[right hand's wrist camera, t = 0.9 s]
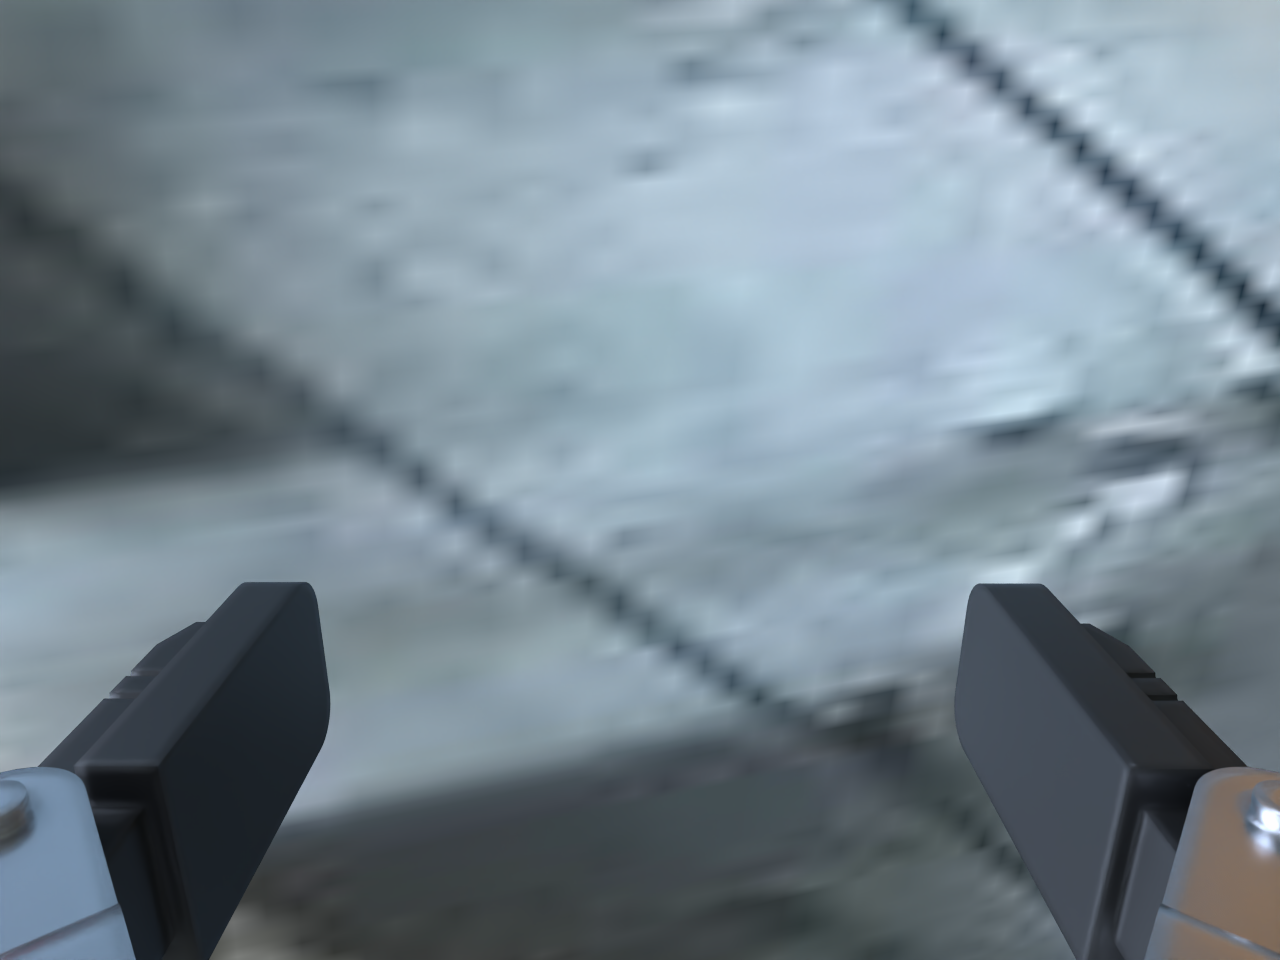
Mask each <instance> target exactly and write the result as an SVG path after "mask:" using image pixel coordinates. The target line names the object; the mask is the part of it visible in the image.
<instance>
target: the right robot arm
mask: <svg viewBox="0 0 1280 960" xmlns="http://www.w3.org/2000/svg"><path fill="white" fill-rule="evenodd" d="M329 717H330V691H329V684H328V676H327V669H326V662H325V654H324V647H323V640H322V632H321V625H320V618H319V610H318V604H317V598H316V595H315V592H314V590H313V588H312V586H311V585H310V584H309V583H307V582H245V583H242V584H241V585H240V586H239V587H238V588H237V589H236V590H235V591H234V592H233V593H232V594H231V595H230V596H229V597H228V598H227V600H226V601H225V602H224V603H223V604H222V605H221V606H220V607H219V608H218V609H217V610H216V611H215V613H214V614H213V615H212V616H211V617H210V618H209V619H208V620H207V621H206V622H196V623H194V624H192V625H190V626H189V627H187V628H185V629H183V630H182V631H180V632H178V633H176V634H175V635H173V636H171V637H169V638H168V639H166V640H164V641H162V642H161V643H159V644H157V645H156V646H155V647H154V648H153V649H152V650H151V651H150V652H149V653H148V654H147V655H146V656H145V657H144V658H143V659H142V660H141V661H140V662H139V663H138V664H137V665H136V666H135V668H134V669H133V670H132V671H131V676H126V677H125V678H124V679H123V680H122V681H121V682H120V683H119V684H118V685H117V686H116V687H115V688H114V689H113V690H112V691H111V692H110V697H109V699H103V700H102V701H101V702H100V703H99V704H98V705H97V706H96V708H95V709H94V710H93V711H92V712H91V713H90V714H89V715H88V716H87V717H86V718H85V719H84V720H83V721H82V722H81V723H80V724H79V725H78V726H77V727H76V728H75V729H74V730H73V731H72V732H71V733H70V734H69V735H68V736H67V737H66V738H65V739H64V740H63V741H62V742H61V743H60V744H59V745H58V747H57V748H56V749H55V750H54V751H53V752H52V753H51V754H50V755H49V756H48V757H47V758H46V759H45V760H44V761H43V762H42V763H41V764H40V765H39V766H38V767H30V768H21V769H15V770H10V771H5V772H1V773H0V960H209V958H210V956H211V955H212V953H213V951H214V949H215V947H216V945H217V943H218V941H219V940H220V938H221V936H222V934H223V932H224V930H225V928H226V926H227V924H228V923H229V921H230V919H231V917H232V915H233V913H234V911H235V909H236V908H237V906H238V904H239V902H240V900H241V898H242V896H243V894H244V893H245V891H246V889H247V887H248V885H249V883H250V881H251V879H252V877H253V876H254V874H255V872H256V870H257V868H258V866H259V864H260V862H261V861H262V859H263V857H264V855H265V853H266V851H267V849H268V847H269V846H270V844H271V842H272V840H273V838H274V836H275V834H276V832H277V830H278V829H279V827H280V825H281V823H282V821H283V819H284V817H285V815H286V814H287V812H288V810H289V808H290V806H291V804H292V802H293V800H294V798H295V797H296V795H297V793H298V791H299V789H300V787H301V785H302V783H303V782H304V780H305V778H306V776H307V774H308V772H309V770H310V768H311V767H312V765H313V763H314V761H315V759H316V757H317V755H318V753H319V751H320V750H321V748H322V745H323V743H324V740H325V737H326V734H327V729H328V724H329ZM955 721H956V727H957V732H958V736H959V740H960V743H961V745H962V748H963V750H964V752H965V753H966V755H967V757H968V759H969V761H970V763H971V765H972V766H973V768H974V770H975V772H976V774H977V776H978V778H979V779H980V781H981V783H982V785H983V787H984V789H985V791H986V792H987V794H988V796H989V798H990V800H991V802H992V804H993V805H994V807H995V809H996V811H997V813H998V815H999V817H1000V818H1001V820H1002V822H1003V824H1004V826H1005V828H1006V830H1007V831H1008V833H1009V835H1010V837H1011V839H1012V841H1013V843H1014V844H1015V846H1016V848H1017V850H1018V852H1019V854H1020V856H1021V857H1022V859H1023V861H1024V863H1025V865H1026V867H1027V869H1028V870H1029V872H1030V874H1031V876H1032V878H1033V880H1034V882H1035V883H1036V885H1037V887H1038V889H1039V891H1040V893H1041V895H1042V896H1043V898H1044V900H1045V902H1046V904H1047V906H1048V908H1049V909H1050V911H1051V913H1052V915H1053V917H1054V919H1055V921H1056V922H1057V924H1058V926H1059V928H1060V930H1061V932H1062V934H1063V935H1064V937H1065V939H1066V941H1067V943H1068V945H1069V947H1070V948H1071V950H1072V952H1073V954H1074V956H1075V958H1076V960H1280V773H1279V772H1275V771H1270V770H1265V769H1259V768H1250V767H1247V766H1246V765H1245V764H1244V762H1243V761H1242V760H1241V759H1240V758H1239V757H1238V756H1237V755H1236V754H1235V753H1234V752H1233V751H1232V750H1231V749H1230V748H1229V747H1228V746H1227V745H1226V744H1225V743H1224V742H1223V741H1222V740H1221V739H1220V738H1219V737H1218V736H1217V735H1216V734H1215V733H1214V732H1213V731H1212V730H1211V729H1210V728H1209V727H1208V726H1207V725H1206V724H1205V723H1204V722H1203V721H1202V720H1201V719H1200V718H1199V717H1198V716H1197V715H1196V714H1195V713H1194V712H1193V711H1192V710H1191V709H1190V708H1189V707H1188V706H1187V705H1186V704H1185V703H1184V701H1178V700H1177V694H1176V693H1175V692H1174V691H1173V690H1172V689H1171V688H1170V687H1169V686H1168V685H1167V684H1166V683H1165V682H1164V681H1163V680H1162V679H1161V678H1156V677H1155V672H1154V671H1153V670H1152V669H1151V668H1150V667H1149V666H1148V665H1147V664H1146V663H1145V662H1144V661H1143V660H1142V659H1141V658H1140V657H1139V656H1138V655H1137V654H1136V653H1135V652H1134V651H1133V650H1132V649H1131V648H1130V647H1129V646H1128V645H1126V644H1124V643H1123V642H1121V641H1119V640H1117V639H1115V638H1114V637H1112V636H1110V635H1108V634H1107V633H1105V632H1103V631H1101V630H1100V629H1098V628H1096V627H1094V626H1093V625H1091V624H1080V623H1079V622H1078V621H1077V620H1076V619H1075V617H1074V616H1073V615H1072V614H1071V613H1070V612H1069V611H1068V610H1067V609H1066V608H1065V607H1064V606H1063V605H1062V603H1061V602H1060V601H1059V600H1058V599H1057V598H1056V597H1055V596H1054V595H1053V594H1052V593H1051V592H1050V591H1049V589H1048V588H1047V587H1045V586H1044V585H1042V584H977V585H976V586H975V587H974V588H973V589H972V591H971V593H970V596H969V600H968V605H967V612H966V619H965V626H964V633H963V640H962V648H961V655H960V662H959V669H958V676H957V684H956V691H955Z"/></svg>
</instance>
